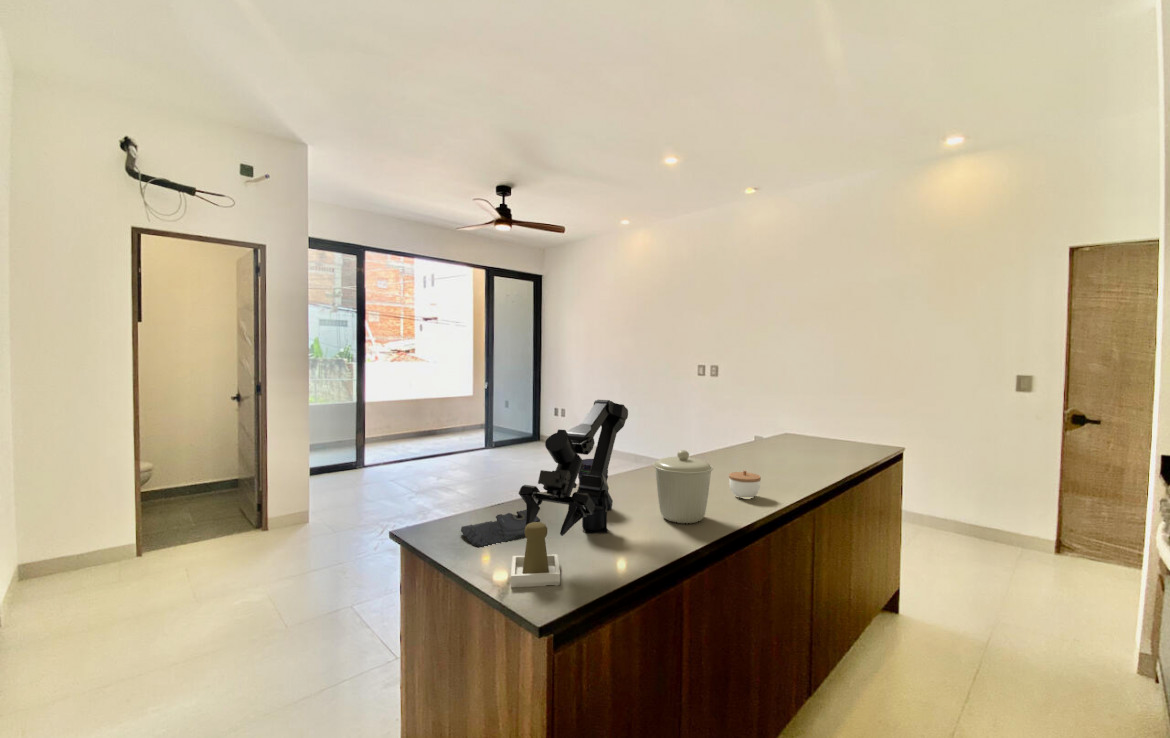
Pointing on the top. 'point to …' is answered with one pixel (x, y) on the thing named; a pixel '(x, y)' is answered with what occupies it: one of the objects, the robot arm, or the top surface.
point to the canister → (683, 487)
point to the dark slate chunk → (497, 529)
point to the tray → (535, 578)
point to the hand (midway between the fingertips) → (543, 531)
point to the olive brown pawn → (535, 549)
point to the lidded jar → (744, 484)
